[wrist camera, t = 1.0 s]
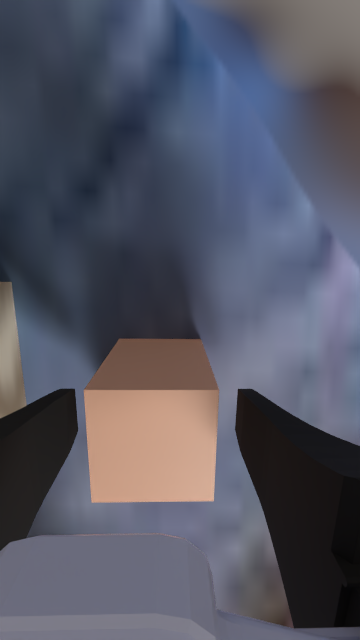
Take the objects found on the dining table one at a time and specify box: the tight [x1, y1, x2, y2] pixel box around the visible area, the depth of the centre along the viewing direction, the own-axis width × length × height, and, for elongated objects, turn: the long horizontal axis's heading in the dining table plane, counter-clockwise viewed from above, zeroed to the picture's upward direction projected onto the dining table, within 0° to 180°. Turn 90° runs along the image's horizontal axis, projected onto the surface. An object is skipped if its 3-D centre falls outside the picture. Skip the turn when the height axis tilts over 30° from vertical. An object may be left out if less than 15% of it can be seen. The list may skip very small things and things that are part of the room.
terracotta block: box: [84, 339, 219, 502], centre depth 12 cm, size 4×4×6 cm
